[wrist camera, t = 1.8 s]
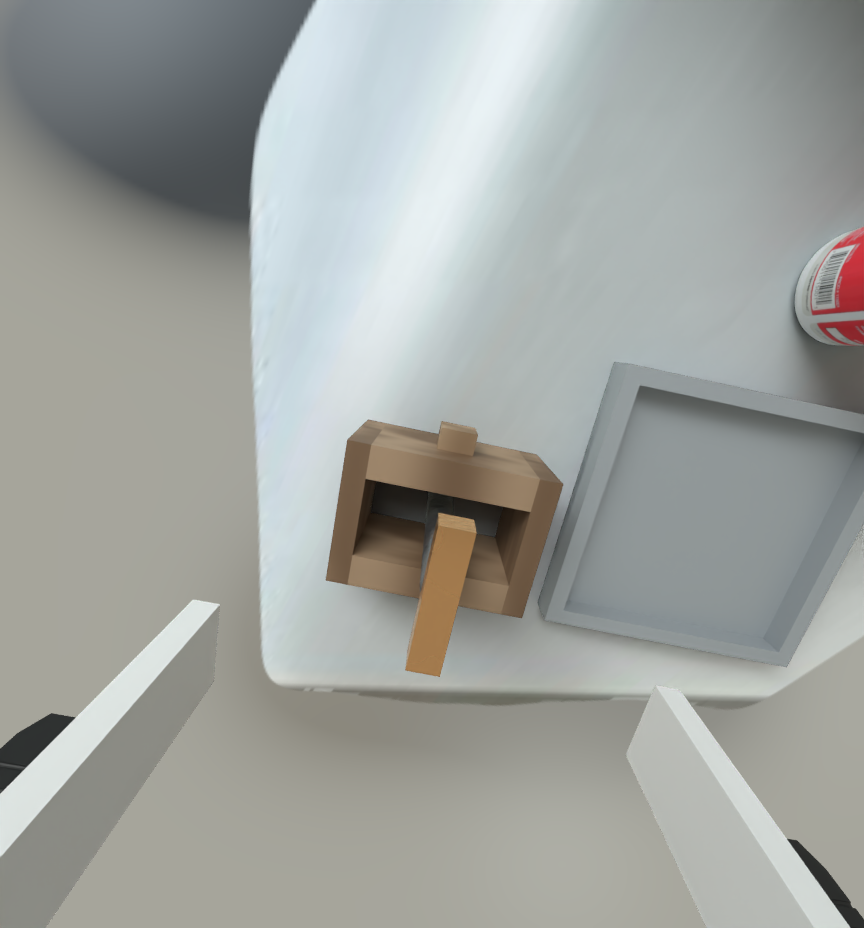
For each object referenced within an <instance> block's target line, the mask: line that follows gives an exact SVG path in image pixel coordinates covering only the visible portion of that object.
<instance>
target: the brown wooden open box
mask: <svg viewBox="0 0 864 928" xmlns="http://www.w3.org/2000/svg"><path fill="white" fill-rule="evenodd" d="M477 437H478V434H477V431H476V429H475V428H472V427H467V426H462V425H458V424H453V423H448V422H443V421H442V422H441V426H440V431H439V434H435V433H430V432H425V431H420V430H415V429H411V428H406V427H401V426H396V425H391V424H386V423H382V422H377V421H372V420H367V421H366V422H365V423H364V424H363V425H362V426H361V427H360V428H359V429H358V430H357V431H356V432H355V433H354V434H353V435H352V436H351V437H350V438H349V439H348V440H347V445H346V452H345V458H344V465H343V471H342V478H341V484H340V491H339V497H338V504H337V510H336V517H335V523H334V530H333V536H332V543H331V550H330V556H329V563H328V569H327V576H326V581H331V582H337V583H342V584H347V585H352V586H357V587H363V588H368V589H373V590H378V591H383V592H388V593H394V594H399V595H404V596H409V597H414V598H419V597H420V576H421V565H422V554H423V543H424V532H425V523H421V522H416V521H411V520H406V519H401V518H396V517H391V516H386V515H381V514H376V513H371V509H372V503H373V498H374V492H375V487H376V481H379V482H384V483H389V484H394V485H399V486H404V487H409V488H414V489H419V490H424V491H429V492H433V493H438V494H443V495H448V496H453V497H458V498H463V499H468V500H473V501H478V502H483V503H488V504H493V505H498V506H503V510H502V513H501V517H500V521H499V524H498V528H497V532H496V535H495V537H491V536H486V535H481V534H476V538H475V542H474V546H473V549H472V553H471V557H470V561H469V565H468V569H467V573H466V577H465V581H464V584H463V588H462V592H461V596H460V600H459V604H458V606H461V607H466V608H471V609H477V610H482V611H487V612H492V613H497V614H502V615H508V616H513V617H518V618H522V616H523V613H524V610H525V606H526V603H527V600H528V597H529V593H530V590H531V587H532V584H533V580H534V577H535V574H536V571H537V568H538V564H539V561H540V558H541V555H542V551H543V548H544V545H545V542H546V539H547V535H548V532H549V529H550V526H551V522H552V519H553V516H554V513H555V509H556V506H557V503H558V500H559V497H560V493H561V490H562V487H563V483H562V482H561V481H560V480H559V479H558V478H557V477H556V476H555V474H554V473H553V472H552V471H551V470H550V469H549V468H548V467H547V466H546V464H545V463H544V462H543V461H542V460H541V459H540V458H539V457H538V456H537V455H536V454H531V453H526V452H522V451H517V450H512V449H507V448H502V447H497V446H493V445H488V444H483V443H478V442H476V441H477Z"/></svg>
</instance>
